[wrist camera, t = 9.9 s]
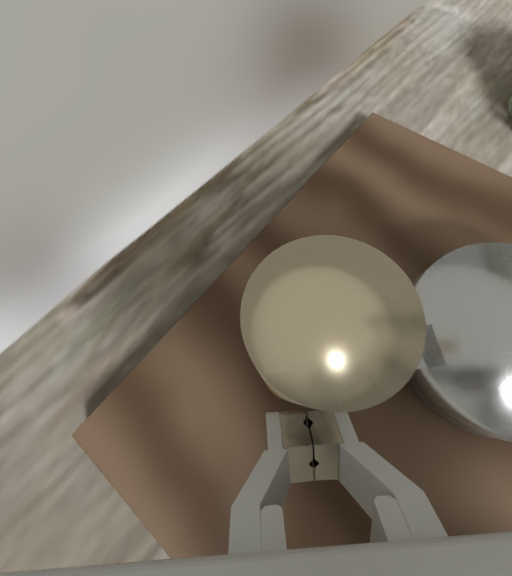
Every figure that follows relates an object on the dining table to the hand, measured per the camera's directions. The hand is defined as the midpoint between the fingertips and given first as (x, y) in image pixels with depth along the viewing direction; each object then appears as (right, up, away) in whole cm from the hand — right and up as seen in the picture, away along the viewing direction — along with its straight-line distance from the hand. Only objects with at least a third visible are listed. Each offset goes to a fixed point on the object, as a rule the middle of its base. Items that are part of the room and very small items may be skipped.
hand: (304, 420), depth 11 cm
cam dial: (+7, +1, +5) cm, 9 cm away
